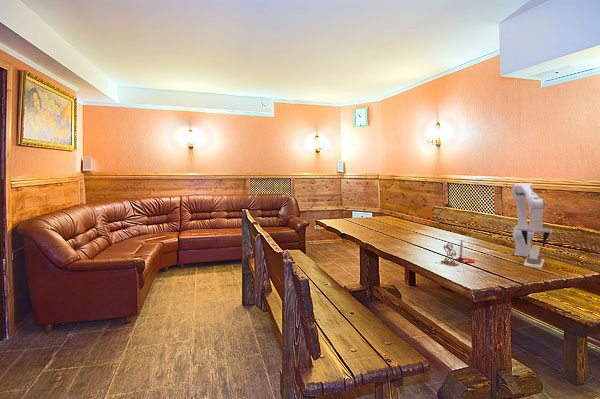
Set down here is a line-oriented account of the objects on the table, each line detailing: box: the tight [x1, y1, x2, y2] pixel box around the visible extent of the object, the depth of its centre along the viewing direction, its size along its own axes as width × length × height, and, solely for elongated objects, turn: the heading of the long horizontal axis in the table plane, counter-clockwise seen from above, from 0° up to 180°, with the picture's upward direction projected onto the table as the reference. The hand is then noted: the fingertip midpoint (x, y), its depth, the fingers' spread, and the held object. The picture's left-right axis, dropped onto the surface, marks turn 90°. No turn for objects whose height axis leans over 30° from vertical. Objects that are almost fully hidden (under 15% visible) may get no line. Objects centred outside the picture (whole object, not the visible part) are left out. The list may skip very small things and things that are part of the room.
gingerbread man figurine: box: [440, 242, 460, 267], centre depth 183 cm, size 9×4×12 cm, turn 26°
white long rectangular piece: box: [530, 244, 540, 259], centre depth 181 cm, size 12×4×5 cm, turn 140°
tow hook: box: [454, 239, 476, 264], centre depth 188 cm, size 8×13×9 cm
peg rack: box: [523, 254, 545, 269], centre depth 181 cm, size 16×8×4 cm, turn 140°
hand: (534, 245), depth 180 cm, fingers open, 7 cm apart
